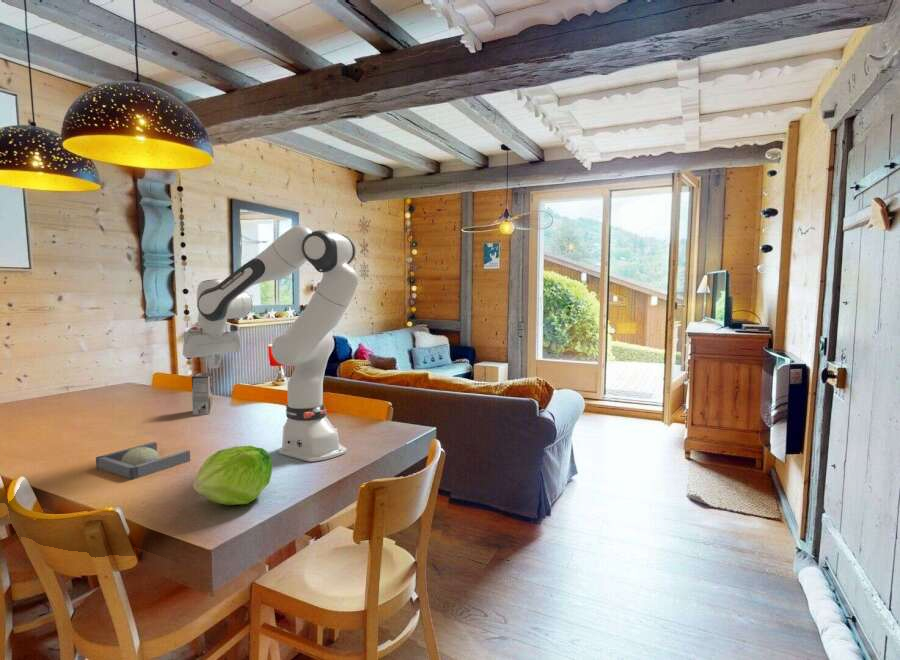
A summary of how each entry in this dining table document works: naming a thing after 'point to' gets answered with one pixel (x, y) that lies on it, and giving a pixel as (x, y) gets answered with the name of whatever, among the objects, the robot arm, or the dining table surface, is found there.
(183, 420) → the dining table surface
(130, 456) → the sea urchin shell
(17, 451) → the dining table surface
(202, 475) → the lettuce
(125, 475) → the bay
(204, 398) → the coffee box
